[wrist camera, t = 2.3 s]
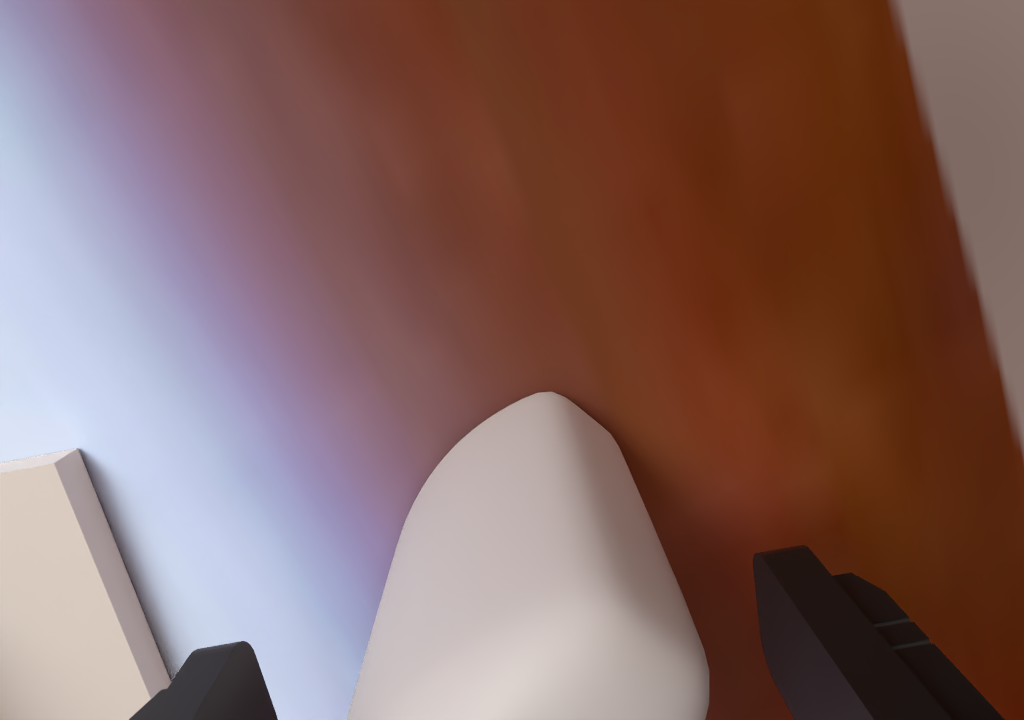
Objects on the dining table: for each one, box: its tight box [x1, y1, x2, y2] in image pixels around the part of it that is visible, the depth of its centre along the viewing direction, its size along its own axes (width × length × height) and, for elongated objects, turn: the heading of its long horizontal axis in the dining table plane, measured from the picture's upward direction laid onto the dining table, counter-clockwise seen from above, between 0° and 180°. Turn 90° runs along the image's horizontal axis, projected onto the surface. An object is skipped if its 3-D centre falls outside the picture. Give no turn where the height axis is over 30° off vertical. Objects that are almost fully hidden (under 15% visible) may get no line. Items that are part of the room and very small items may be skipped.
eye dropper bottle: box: [347, 392, 709, 720], centre depth 9 cm, size 4×6×12 cm
